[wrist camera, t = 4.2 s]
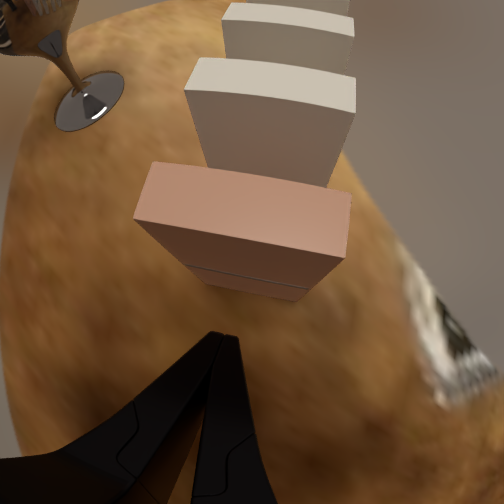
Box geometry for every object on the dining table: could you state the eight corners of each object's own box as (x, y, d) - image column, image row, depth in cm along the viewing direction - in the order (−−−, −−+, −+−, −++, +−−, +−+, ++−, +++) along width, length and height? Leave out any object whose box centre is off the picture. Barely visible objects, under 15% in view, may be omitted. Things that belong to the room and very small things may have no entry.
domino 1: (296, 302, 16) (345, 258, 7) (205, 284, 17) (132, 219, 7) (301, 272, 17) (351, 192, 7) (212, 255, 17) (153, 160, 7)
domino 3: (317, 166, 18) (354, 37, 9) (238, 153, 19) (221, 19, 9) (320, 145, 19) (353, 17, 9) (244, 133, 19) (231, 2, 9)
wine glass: (144, 66, 21) (90, -76, 7) (99, 138, 20) (-5, -14, 5) (79, 70, 22) (17, -40, 8) (36, 134, 20) (-57, 27, 6)
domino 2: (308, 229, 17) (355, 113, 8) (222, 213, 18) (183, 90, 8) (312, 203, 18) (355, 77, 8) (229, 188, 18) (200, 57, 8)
